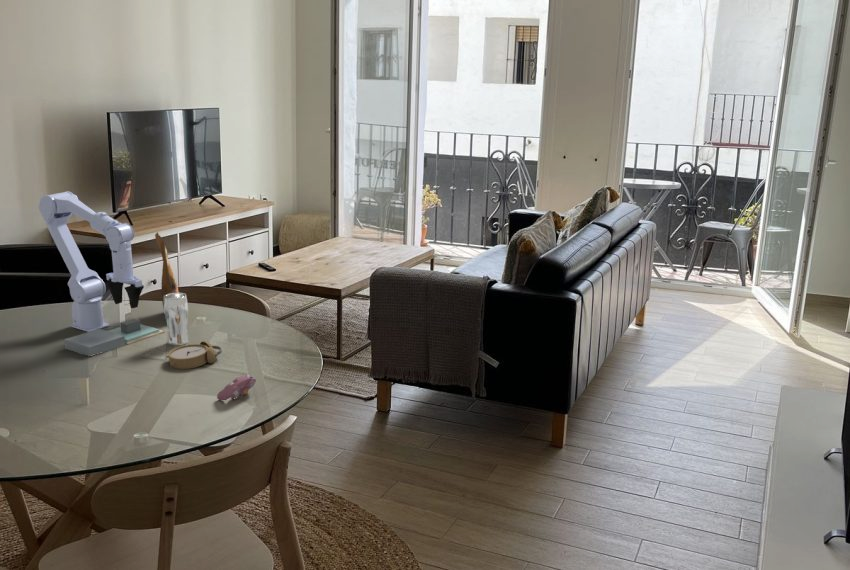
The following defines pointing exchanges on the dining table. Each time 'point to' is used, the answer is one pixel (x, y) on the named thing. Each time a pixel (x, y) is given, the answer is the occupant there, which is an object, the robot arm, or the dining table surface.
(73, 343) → the grey square slab
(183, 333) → the beer glass
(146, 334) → the lid
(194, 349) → the alarm clock
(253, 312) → the dining table surface
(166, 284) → the pancake mix bag
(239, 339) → the dining table surface
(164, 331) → the cork pad
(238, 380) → the video game controller
